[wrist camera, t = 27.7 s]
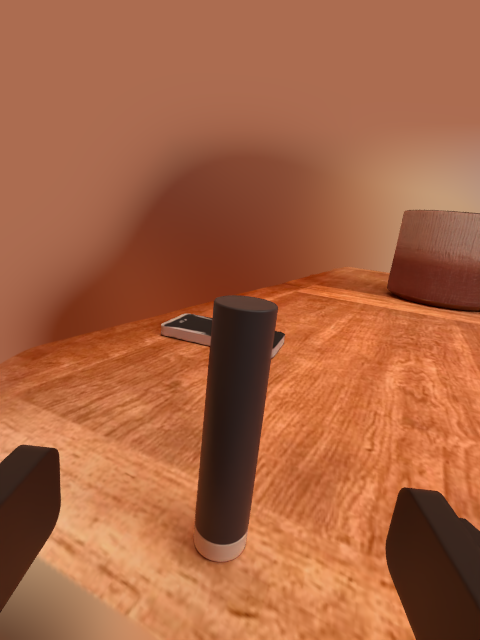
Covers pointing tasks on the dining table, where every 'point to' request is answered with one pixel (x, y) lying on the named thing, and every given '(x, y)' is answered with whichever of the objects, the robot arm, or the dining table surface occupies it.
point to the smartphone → (202, 330)
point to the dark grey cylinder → (232, 422)
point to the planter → (438, 259)
